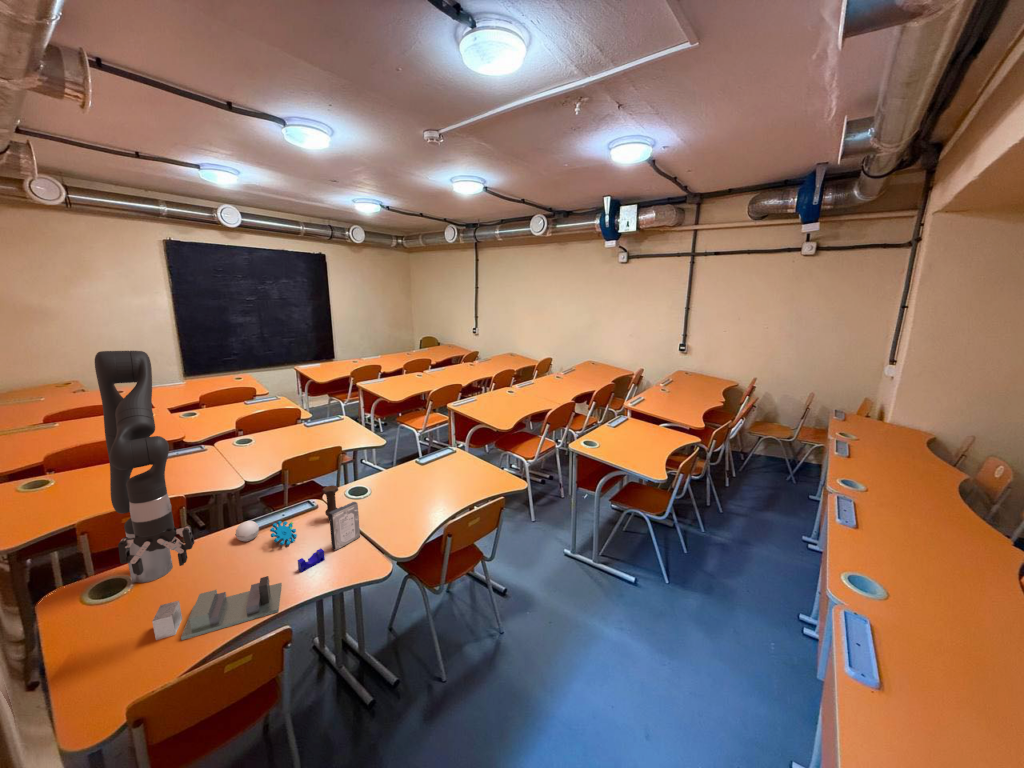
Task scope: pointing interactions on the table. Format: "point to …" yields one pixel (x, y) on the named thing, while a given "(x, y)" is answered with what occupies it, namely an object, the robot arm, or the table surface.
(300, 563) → the cable holder
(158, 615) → the steel block
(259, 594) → the free jaw
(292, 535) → the gear
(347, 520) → the disk drive
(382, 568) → the table surface
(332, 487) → the bolt
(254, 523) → the seamed sphere
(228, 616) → the vise
